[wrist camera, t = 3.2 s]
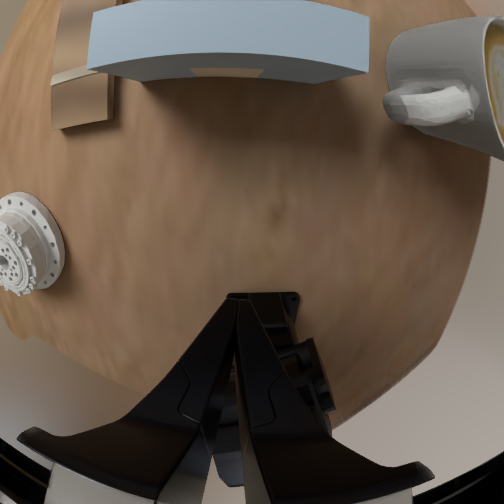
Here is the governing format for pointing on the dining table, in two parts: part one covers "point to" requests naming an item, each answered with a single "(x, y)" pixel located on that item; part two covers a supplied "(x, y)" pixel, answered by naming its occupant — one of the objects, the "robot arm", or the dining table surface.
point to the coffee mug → (450, 82)
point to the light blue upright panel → (229, 40)
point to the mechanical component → (28, 244)
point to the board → (79, 69)
